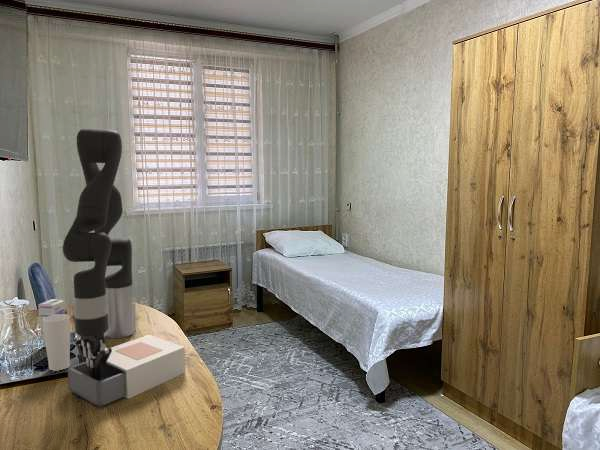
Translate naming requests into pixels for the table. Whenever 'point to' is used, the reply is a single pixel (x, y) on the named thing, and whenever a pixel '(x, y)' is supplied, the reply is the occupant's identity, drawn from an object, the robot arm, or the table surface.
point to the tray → (97, 383)
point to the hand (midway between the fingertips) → (95, 380)
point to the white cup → (57, 341)
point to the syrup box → (51, 311)
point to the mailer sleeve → (147, 362)
